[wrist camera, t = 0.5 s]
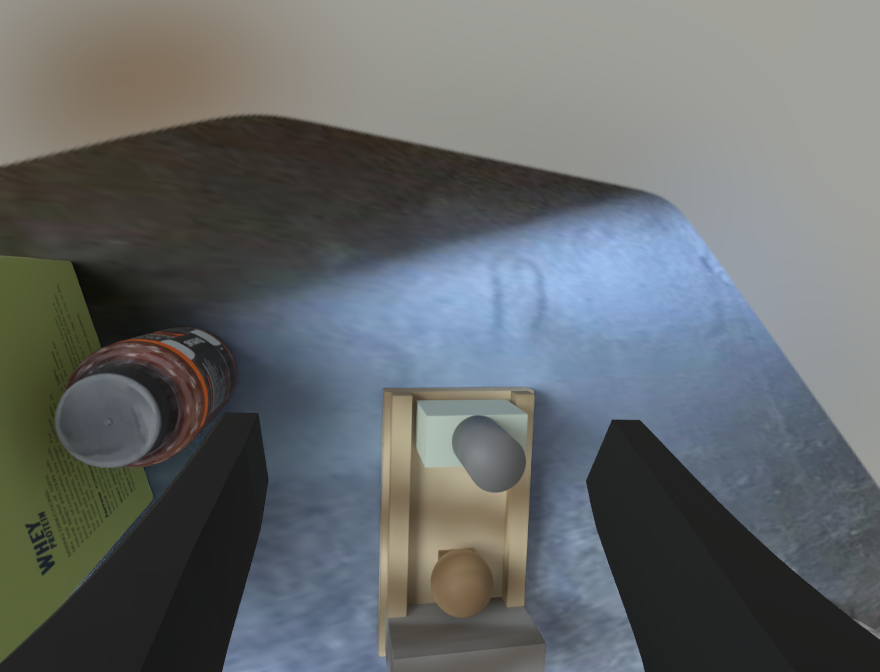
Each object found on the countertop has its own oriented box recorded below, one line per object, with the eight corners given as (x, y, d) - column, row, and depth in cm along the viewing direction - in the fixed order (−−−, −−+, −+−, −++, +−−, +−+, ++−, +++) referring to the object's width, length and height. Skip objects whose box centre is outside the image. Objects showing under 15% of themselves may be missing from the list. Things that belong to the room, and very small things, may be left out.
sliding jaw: (504, 443, 35) (552, 490, 27) (414, 446, 34) (438, 495, 26) (506, 399, 35) (555, 433, 27) (416, 400, 34) (440, 436, 26)
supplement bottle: (202, 306, 32) (131, 319, 21) (258, 387, 33) (218, 440, 22) (112, 358, 31) (-9, 400, 20) (172, 439, 33) (88, 520, 22)
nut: (482, 591, 36) (499, 629, 32) (424, 596, 36) (435, 635, 32) (484, 535, 36) (502, 567, 32) (426, 539, 35) (437, 572, 31)
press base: (515, 631, 38) (548, 696, 32) (377, 644, 36) (385, 717, 30) (527, 387, 37) (565, 408, 31) (383, 388, 35) (392, 410, 29)
